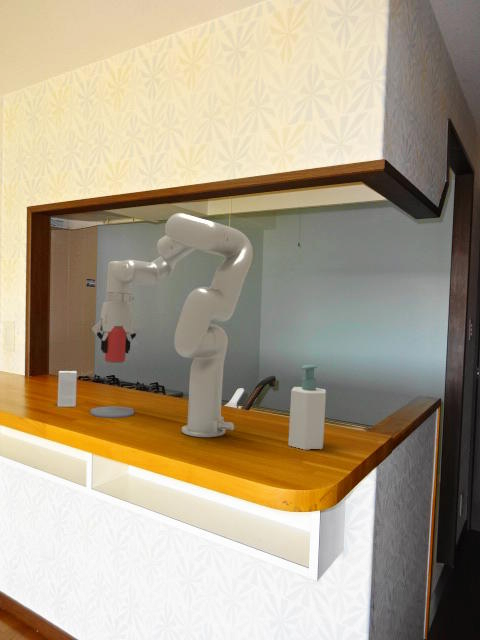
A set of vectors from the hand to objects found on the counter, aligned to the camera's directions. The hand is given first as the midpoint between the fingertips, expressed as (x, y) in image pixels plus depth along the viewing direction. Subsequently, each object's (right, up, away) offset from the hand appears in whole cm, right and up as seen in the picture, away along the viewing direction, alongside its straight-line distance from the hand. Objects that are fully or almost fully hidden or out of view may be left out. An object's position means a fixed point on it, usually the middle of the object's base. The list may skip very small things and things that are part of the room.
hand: (115, 352), depth 164 cm
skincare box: (-19, -19, +9) cm, 29 cm away
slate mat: (-1, -20, 0) cm, 20 cm away
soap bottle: (+59, -24, -28) cm, 70 cm away
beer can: (0, -3, 0) cm, 3 cm away
